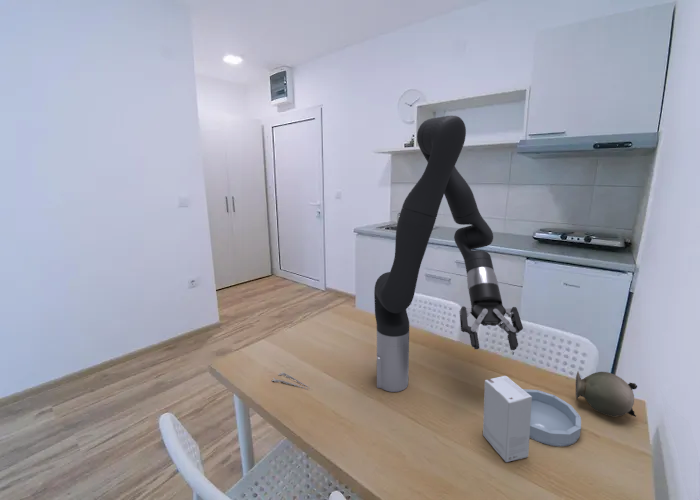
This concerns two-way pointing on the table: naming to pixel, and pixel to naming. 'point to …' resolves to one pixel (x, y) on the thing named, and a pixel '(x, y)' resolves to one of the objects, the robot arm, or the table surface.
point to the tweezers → (288, 382)
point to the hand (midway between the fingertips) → (495, 349)
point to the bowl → (553, 420)
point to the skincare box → (507, 418)
